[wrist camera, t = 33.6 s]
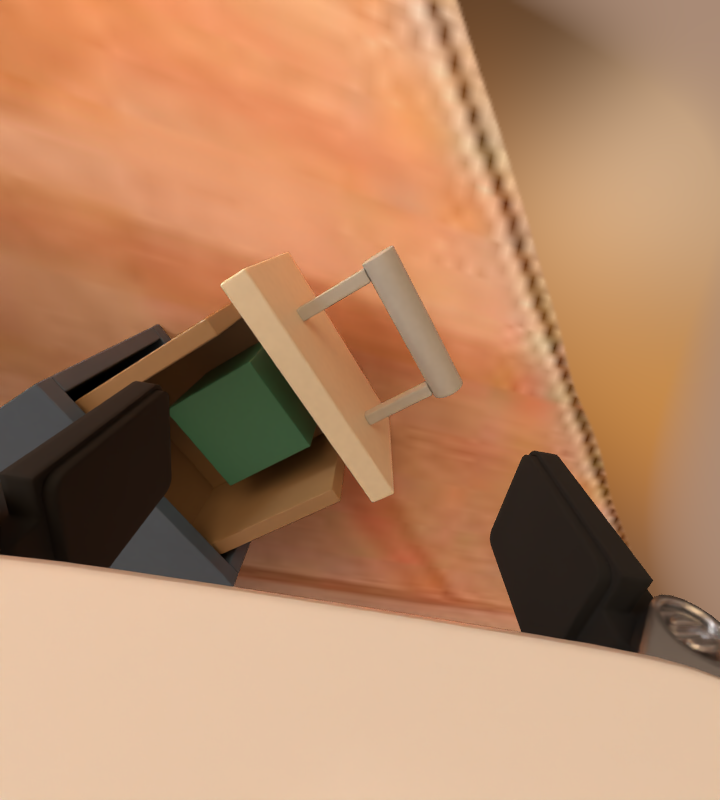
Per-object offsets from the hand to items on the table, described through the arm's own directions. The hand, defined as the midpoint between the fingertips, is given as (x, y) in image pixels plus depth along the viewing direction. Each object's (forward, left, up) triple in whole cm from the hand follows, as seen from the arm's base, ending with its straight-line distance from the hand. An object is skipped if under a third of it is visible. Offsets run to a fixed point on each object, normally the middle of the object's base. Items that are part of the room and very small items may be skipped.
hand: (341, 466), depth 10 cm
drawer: (0, -5, -14) cm, 15 cm away
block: (0, -6, -13) cm, 14 cm away
